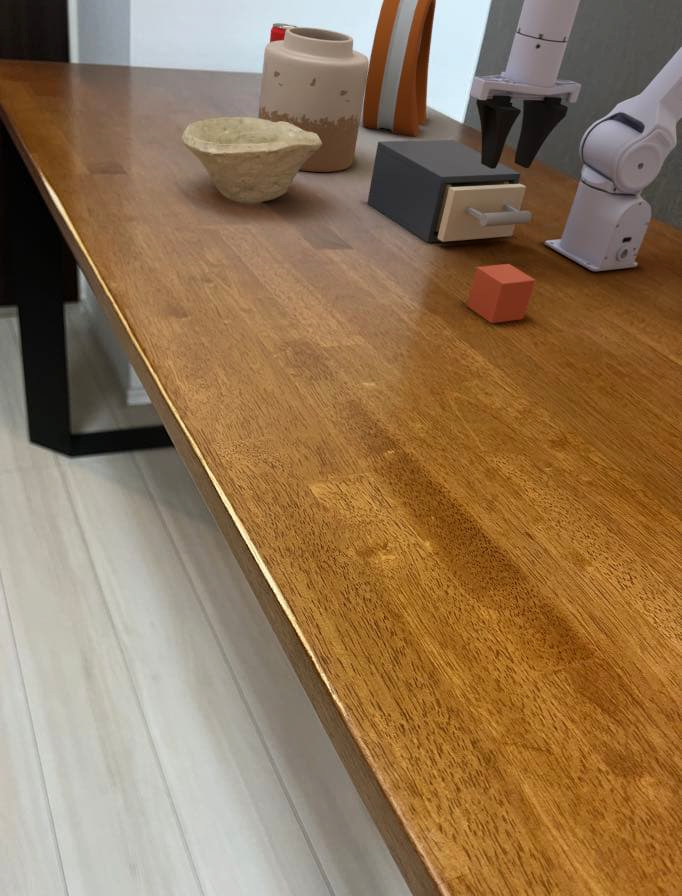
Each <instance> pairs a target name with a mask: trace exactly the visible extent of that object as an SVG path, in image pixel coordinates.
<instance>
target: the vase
mask: <svg viewBox="0 0 682 896" xmlns="http://www.w3.org/2000/svg"><path fill="white" fill-rule="evenodd" d="M369 62H370V60H369V59H368V57H367V56H366V55H365V54H363V53H361V52H360V51H357V50H354V38H353V37H352V36H350V35H348V34H346V33H343V32H339V31H335V30H330V29H324V28H318V27H308V26H307V27H306V26H297V27H292V28H288V29H286V32H285V37H284V40H280V41H273V42H270V41H269V43H267V44H266V45H265V48H264V51H263V61H262V72H261V83H260V95H259V107H258V117H257V118H259V119H264V120H269V121H272V122H279V121H284V122H288V123H290V124H292V125H295V126H296V127H298V128H300V129H302V130H304V131H307V132H313V133H316V134H317V135H318V136H319V138H320V140H321V142H322V145H321V147H320V148H319V149H318V150H316V151H315V152H314V153H313V154H312V155H311V156H310V157H309V158H308V159H307V160H306V161H305V162H304V163H303V165H302V166H301V168H300V169H299V171H302V172H303V171H305V172H315V173H331V172H339V171H343V170H346V169H348V168H350V167H351V166H352V164H353V162H354V159H355V153H356V147H357V141H358V134H359V129H360V124H361V123H360V122H361V116H362V112H363V104H364V96H365V88H366V80H367V74H368V68H369Z"/></svg>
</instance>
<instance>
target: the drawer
mask: <svg viewBox="0 0 682 896" xmlns="http://www.w3.org/2000/svg"><path fill="white" fill-rule="evenodd" d="M526 190H527V186H526V185H524V184H523V183H522V184H521V183H518V184H509V182H508V181H506V180H503V181H482V182H461V183H445V188H444V192H443V197H442V201H441V205H440V210H439V214H438V218H437V223H436V227H435V231H436V232H439V233H438V239H439V240H441V241H440V242H442V243H444V242H445V243H446V242H456V241H467V240H468V241H469V240H480V239H492V238H504V237H512V236H513V235H514V231H515V227H516V225H524V224H529V223H530V222H531V221H532V213H531V211H530V210H521V207H522V204H523V200H524V196H525V193H526Z"/></svg>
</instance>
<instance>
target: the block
mask: <svg viewBox="0 0 682 896" xmlns="http://www.w3.org/2000/svg"><path fill="white" fill-rule="evenodd" d="M535 283H536V279H535V278H533V277H531V276H530V275H528V274H526V273H525V272H523V271H522V270H520V269H518V268H517V267H516V266H513V265H511V264H510V263H502V264H492V265H482V266H477V267H476V269H475V273H474V277H473V280H472V285H471V288H470V292H469V295H468V299H467V302H466V307H468V308H469V309H470V310H471V311H473V312H475V313H476V314H477V315H479V316H480V317H481V318H483V319H484V320H486V321H487V322H489V323H490V324H498V323H505V322H512V321H519V320H524V318H525V314H526V312H527V308H528V305H529V302H530V299H531V295H532V292H533V289H534V286H535Z"/></svg>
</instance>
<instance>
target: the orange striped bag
mask: <svg viewBox="0 0 682 896" xmlns="http://www.w3.org/2000/svg"><path fill="white" fill-rule="evenodd" d="M436 4H437V0H382V3H381V7H380V12H379V15H378V19H377V23H376V26H375V32H374V37H373V43H372V47H371V52H370V56H369V66H368V73H367V80H366V86H365V92H364V98H363V105H362V127H364V128H367V129H373V130H379V129H380V128H383V129H386V130H387V129H388V130H390V131H391V132H392V133H394V134H400V135H404V136H411V137H417V136H418V135H419V133H420V126H419V125H424V124H425V122H426V121H427V103H428V102H427V99H428V80H429V79H428V78H429V65H430V53H431V46H432V45H431V44H432V36H433V28H434V27H433V26H434V20H435V11H436Z"/></svg>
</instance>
